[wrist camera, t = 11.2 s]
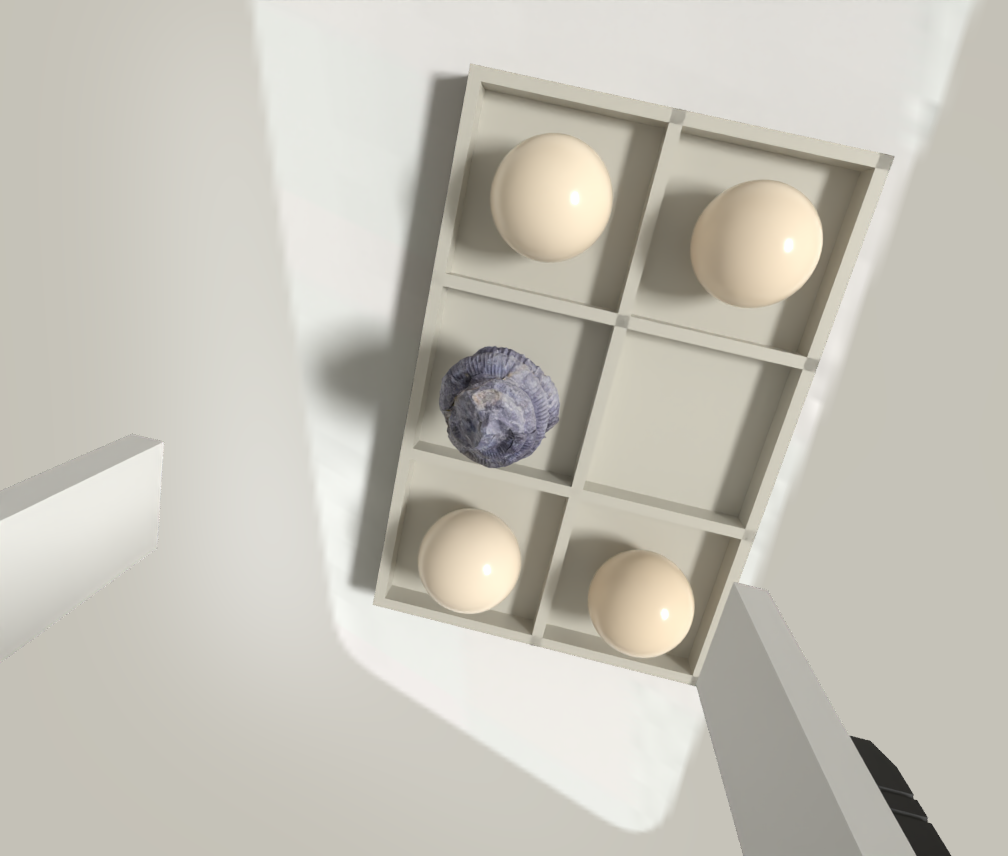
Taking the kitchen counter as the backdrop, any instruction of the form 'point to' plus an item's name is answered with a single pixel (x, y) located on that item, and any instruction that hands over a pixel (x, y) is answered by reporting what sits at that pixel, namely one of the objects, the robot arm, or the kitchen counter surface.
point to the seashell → (498, 406)
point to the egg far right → (641, 603)
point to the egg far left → (469, 561)
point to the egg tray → (619, 363)
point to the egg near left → (551, 197)
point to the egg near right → (756, 243)
